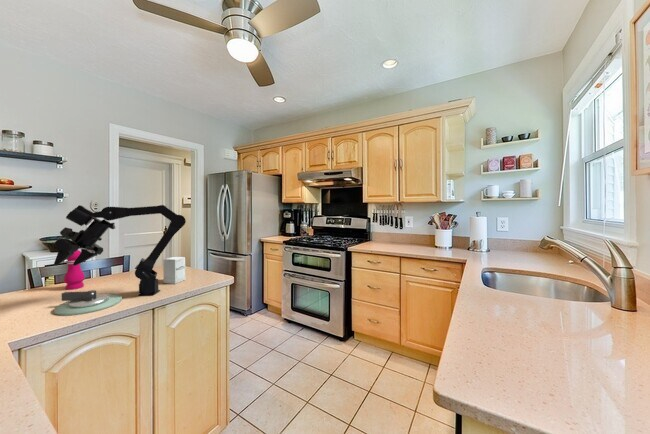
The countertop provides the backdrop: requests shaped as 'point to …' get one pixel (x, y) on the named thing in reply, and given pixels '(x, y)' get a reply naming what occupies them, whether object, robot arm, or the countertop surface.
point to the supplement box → (174, 270)
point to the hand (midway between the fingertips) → (65, 265)
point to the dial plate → (66, 310)
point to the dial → (84, 298)
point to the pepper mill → (74, 273)
